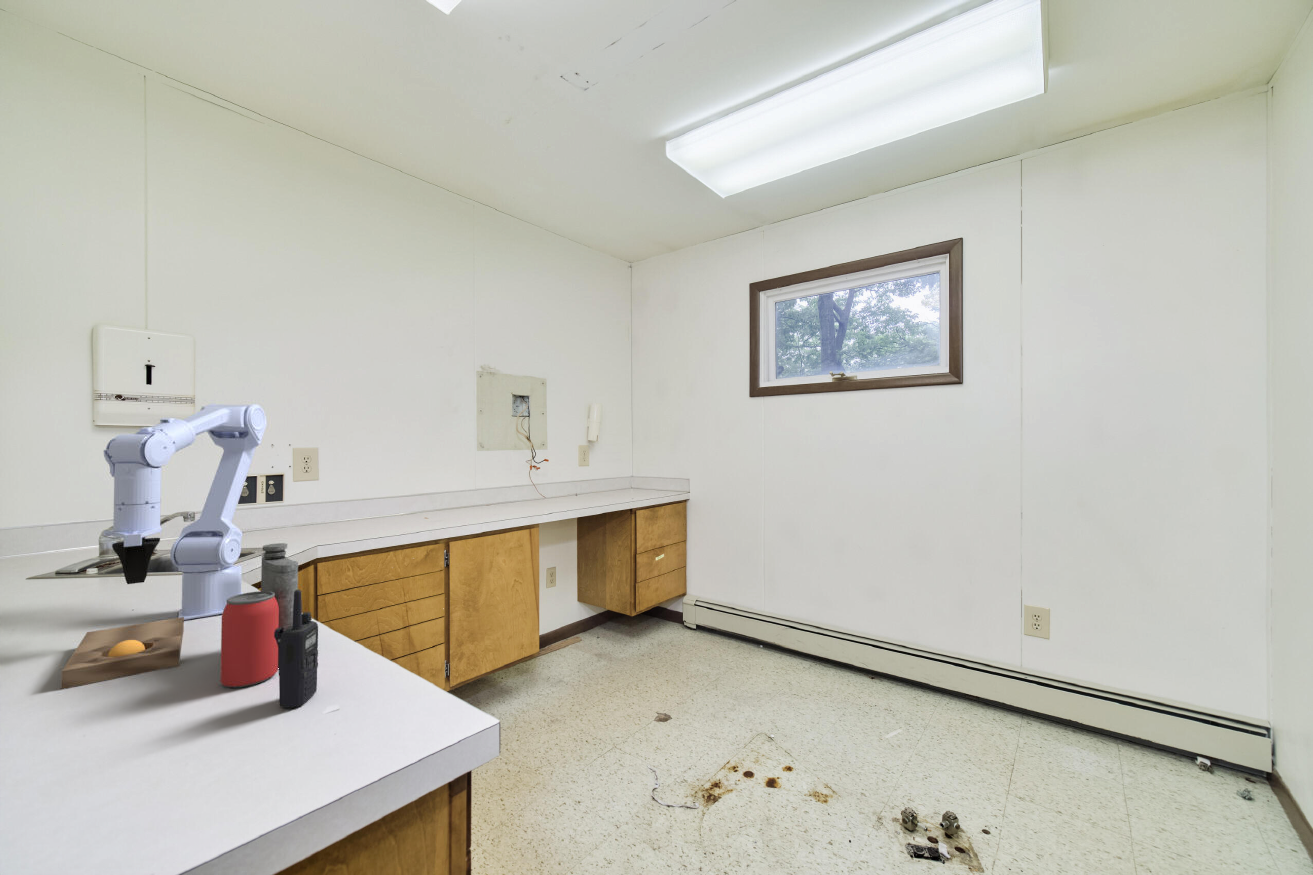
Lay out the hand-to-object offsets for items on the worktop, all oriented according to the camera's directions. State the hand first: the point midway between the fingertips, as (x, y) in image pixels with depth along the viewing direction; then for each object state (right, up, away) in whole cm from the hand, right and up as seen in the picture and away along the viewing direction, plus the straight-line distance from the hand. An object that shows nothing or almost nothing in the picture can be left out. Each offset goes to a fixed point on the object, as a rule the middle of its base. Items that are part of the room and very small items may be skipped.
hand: (136, 582), depth 89 cm
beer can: (+30, -10, -14) cm, 35 cm away
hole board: (+5, -10, -6) cm, 13 cm away
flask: (+28, -11, -5) cm, 30 cm away
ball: (+8, -8, -10) cm, 15 cm away
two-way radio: (+41, -10, -20) cm, 47 cm away
